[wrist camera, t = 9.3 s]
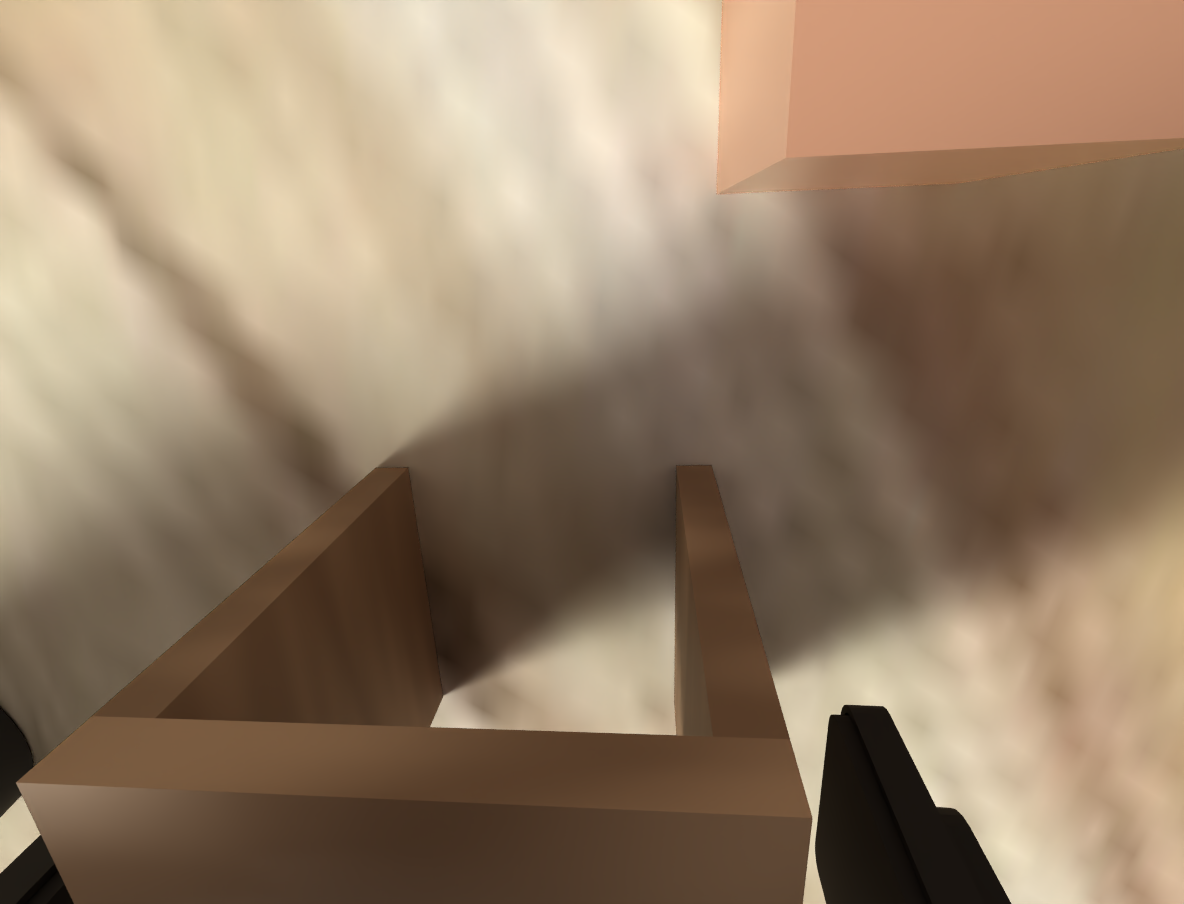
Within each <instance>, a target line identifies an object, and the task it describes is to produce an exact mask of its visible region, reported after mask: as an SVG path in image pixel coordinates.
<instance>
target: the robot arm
mask: <svg viewBox="0 0 1184 904" xmlns="http://www.w3.org/2000/svg"><path fill="white" fill-rule="evenodd" d="M815 854H816V863H817V869H818V873H819V877H820V881H821V885H822V889H823V893H824V896H825V900H826V904H1011V902H1010V900H1009V898H1008V897H1007V895H1006V893H1005V891H1004V889H1003V887H1002V885H1001V884H1000V882H999V880H998V878H997V876H996V874H995V873H994V871H993V869H992V867H991V865H990V863H989V861H988V860H987V858H986V856H985V854H984V852H983V850H982V849H981V847H980V845H979V843H978V841H977V839H976V837H975V836H974V834H973V832H972V830H971V828H970V826H969V825H968V823H967V822H966V820H965V819H964V817H963V816H962V815H961V814H960V813H959V812H958V811H957V810H956V809H952V808H943V807H936V806H935V804H934V802H933V800H932V798H931V796H930V794H929V792H928V790H927V788H926V786H925V784H924V782H923V780H922V778H921V776H920V774H919V772H918V770H917V768H916V766H915V764H914V762H913V760H912V758H911V756H910V754H909V752H908V750H907V748H906V746H905V744H904V742H903V740H902V738H901V736H900V734H899V732H898V730H897V728H896V726H895V724H894V722H893V720H892V718H891V716H890V714H889V712H888V711H887V709H886V708H884V707H883V706H861V705H844V706H843V708H842V711H841V715H831V716H830V718H829V724H828V733H827V742H826V751H825V760H824V769H823V778H822V787H821V796H820V805H819V814H818V823H817V832H816V841H815ZM0 904H74V903H73V900H72V898H71V896H70V894H69V892H68V890H67V888H66V886H65V884H64V882H63V880H62V878H61V875H60V873H59V871H58V869H57V867H56V865H55V863H54V861H53V859H52V857H51V855H50V853H49V850H48V848H47V846H46V844H45V842H44V840H43V838H42V836H41V835H40V836H39V837H38V838H37V839H36V840H35V841H34V842H33V843H32V844H31V845H30V846H29V847H28V848H27V849H25V850H24V851H23V852H22V853H21V854H20V855H19V856H18V857H17V858H16V859H15V860H14V861H13V862H12V863H11V864H10V865H9V866H8V867H7V868H6V869H5V870H4V871H3V872H1V873H0Z"/></svg>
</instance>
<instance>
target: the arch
mask: <svg viewBox="0 0 1184 904" xmlns="http://www.w3.org/2000/svg"><path fill="white" fill-rule="evenodd" d="M442 698H443V692H442V686H441V679H440V673H439V666H438V660H437V653H436V647H435V640H434V634H433V627H432V621H431V614H430V608H429V601H428V594H427V588H426V581H425V575H424V568H423V562H422V555H421V549H420V542H419V536H418V529H417V523H416V516H415V510H414V503H413V497H412V490H411V484H410V477H409V471H408V468H375V469H374V470H373V471H372V472H371V473H369V474H368V475H367V476H366V477H365V478H364V479H363V480H361V481H360V482H359V483H358V484H357V485H356V486H355V487H353V488H352V489H351V490H350V491H349V492H348V493H347V494H345V495H344V496H343V497H342V498H341V499H340V500H339V501H337V502H336V503H335V504H334V505H333V506H332V507H331V508H329V509H328V510H327V511H326V512H325V513H324V514H323V515H321V516H320V517H319V518H318V519H317V520H316V521H315V522H313V523H312V524H311V525H310V526H309V527H308V528H307V529H305V530H304V531H303V532H302V533H301V534H300V535H299V536H297V537H296V538H295V539H294V540H293V541H292V542H291V543H289V544H288V545H287V546H286V547H285V548H284V549H282V550H281V551H280V552H279V553H278V554H277V555H276V556H274V557H273V558H272V559H271V560H270V561H269V562H268V563H266V564H265V565H264V566H263V567H262V568H261V569H260V570H258V571H257V572H256V573H255V574H254V575H253V576H252V577H250V578H249V579H248V580H247V581H246V582H245V583H244V584H242V585H241V586H240V587H239V588H238V589H237V590H236V591H234V592H233V593H232V594H231V595H230V596H229V597H228V598H226V599H225V600H224V601H223V602H222V603H221V604H220V605H218V606H217V607H216V608H215V609H214V610H213V611H212V612H210V613H209V614H208V615H207V616H206V617H205V618H204V619H202V620H201V621H200V622H199V623H198V624H197V625H196V626H194V627H193V628H192V629H191V630H190V631H189V632H188V633H186V634H185V635H184V636H183V637H182V638H181V639H180V640H178V641H177V642H176V643H175V644H174V645H173V646H172V647H170V648H169V649H168V650H167V651H166V652H165V653H164V654H162V655H161V656H160V657H159V658H158V659H157V660H156V661H154V662H153V663H152V664H151V665H150V666H149V667H148V668H146V669H145V670H144V671H143V672H142V673H141V674H140V675H138V676H137V677H136V678H135V679H134V680H133V681H132V682H130V683H129V684H128V685H127V686H126V687H125V688H123V689H122V690H121V691H120V692H119V693H118V694H117V695H115V696H114V697H113V698H112V699H111V700H110V701H109V702H107V703H106V704H105V705H104V706H103V707H102V708H101V709H99V710H98V711H97V712H96V713H95V714H94V715H93V716H91V717H90V718H89V719H88V720H87V721H86V722H85V723H83V724H82V725H81V726H80V727H79V728H78V729H77V730H75V731H74V732H73V733H72V734H71V735H70V736H69V737H67V738H66V739H65V740H64V741H63V742H62V743H61V744H59V745H58V746H57V747H56V748H55V749H54V750H53V751H51V752H50V753H49V754H48V755H47V756H46V757H45V758H43V759H42V760H41V761H40V762H39V763H38V764H37V765H35V766H34V767H33V768H32V769H31V770H30V771H29V772H27V773H26V774H25V775H24V776H23V777H22V778H21V779H19V780H18V781H17V782H16V784H17V786H18V788H19V790H20V792H21V794H22V796H23V798H24V801H25V803H26V805H27V807H28V809H29V811H30V813H31V815H32V817H33V819H34V821H35V823H36V826H37V828H38V830H39V832H40V834H41V836H42V838H43V840H44V842H45V844H46V846H47V848H48V850H49V853H50V855H51V857H52V859H53V861H54V863H55V865H56V867H57V869H58V871H59V873H60V875H61V878H62V880H63V882H64V884H65V886H66V888H67V890H68V892H69V894H70V896H71V898H72V900H73V903H74V904H803V896H804V887H805V879H806V870H807V861H808V852H809V844H810V835H811V826H812V815H811V811H810V808H809V804H808V801H807V797H806V794H805V790H804V787H803V783H802V780H801V776H800V773H799V769H798V766H797V762H796V759H795V755H794V752H793V748H792V745H791V741H790V738H789V734H788V731H787V727H786V724H785V720H784V717H783V713H782V710H781V706H780V703H779V699H778V696H777V692H776V689H775V685H774V682H773V678H772V675H771V671H770V668H769V664H768V661H767V658H766V654H765V651H764V647H763V644H762V640H761V637H760V633H759V630H758V626H757V623H756V619H755V616H754V612H753V609H752V605H751V602H750V598H749V595H748V591H747V588H746V584H745V581H744V577H743V574H742V570H741V567H740V563H739V560H738V556H737V553H736V549H735V546H734V542H733V539H732V535H731V532H730V528H729V525H728V521H727V518H726V514H725V511H724V507H723V504H722V500H721V497H720V493H719V490H718V486H717V483H716V479H715V476H714V472H713V469H712V465H688V466H676V568H675V688H674V705H675V721H676V735H648V734H617V733H587V732H557V731H526V730H496V729H466V728H435V727H430V725H431V723H432V721H433V719H434V716H435V714H436V712H437V709H438V707H439V705H440V702H441V700H442Z"/></svg>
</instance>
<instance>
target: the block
mask: <svg viewBox="0 0 1184 904" xmlns="http://www.w3.org/2000/svg"><path fill="white" fill-rule="evenodd" d="M1178 149H1184V0H722V25H721V59H720V92H719V126H718V160H717V193H716V194H735V193H757V192H779V191H801V190H823V189H845V188H867V187H889V186H911V185H933V184H955V183H965V182H971V181H978V180H984V179H990V178H997V177H1003V176H1010V175H1016V174H1023V173H1029V172H1036V171H1042V170H1049V169H1055V168H1061V167H1068V166H1074V165H1081V164H1087V163H1094V162H1100V161H1107V160H1113V159H1120V158H1126V157H1132V156H1139V155H1145V154H1152V153H1158V152H1165V151H1171V150H1178Z"/></svg>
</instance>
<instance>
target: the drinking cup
mask: <svg viewBox="0 0 1184 904" xmlns="http://www.w3.org/2000/svg"><path fill="white" fill-rule="evenodd" d="M32 768H33V761H32V756H31V752H30V749H29V747H28V745H27V742H26V740H25V739H24V737H23V735H22V734H21V732H20V730H19V729H18V728H17V726H16V725H15V724H14V722H13V721H12V720H11V719H10V718H9V717H8V716H7V715H6V714H5V713H4V712H3V711H2V710H1V709H0V817H1V816H2V815H3V814H4V813H5V812H6V811H7V810H8V809H9V808H10V807H11V806H12V805H13V804H14V803H15V802H16V800H17V799H18V798H19V797H20V796H21V795H22V794H21V792H20V790H19V788H18V786H17V784H16V782H17V781H18V780H19V779H21V778H22V777H23V776H24V775H25V774H26V773H27V772H29V771H30V770H31V769H32Z"/></svg>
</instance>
